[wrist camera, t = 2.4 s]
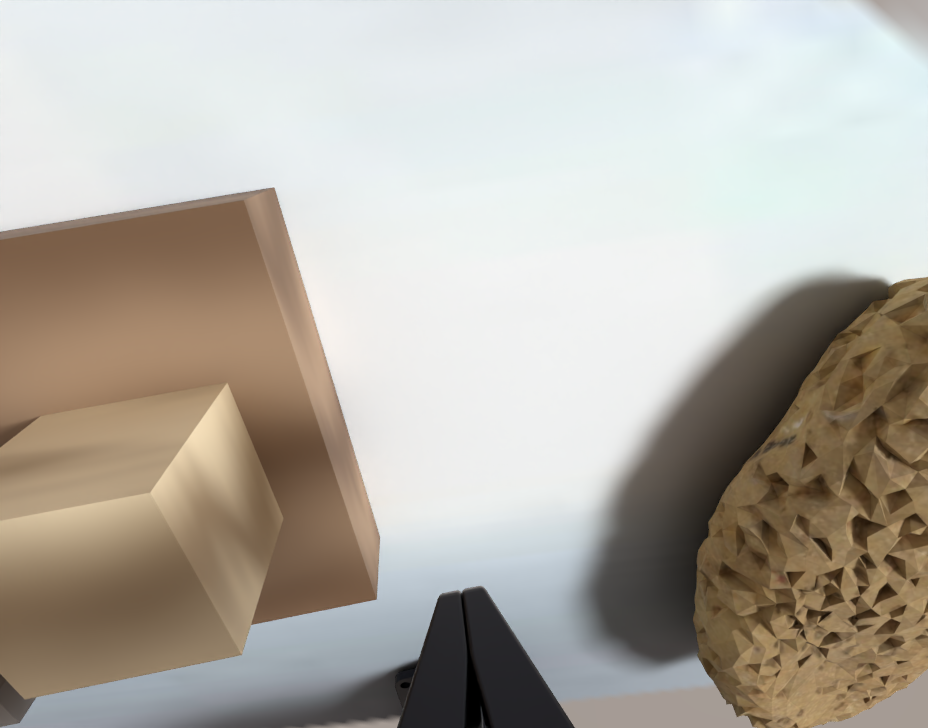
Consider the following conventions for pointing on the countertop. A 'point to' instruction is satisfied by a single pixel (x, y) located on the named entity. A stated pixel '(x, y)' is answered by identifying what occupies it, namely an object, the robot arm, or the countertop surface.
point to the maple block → (130, 540)
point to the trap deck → (195, 366)
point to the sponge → (828, 535)
